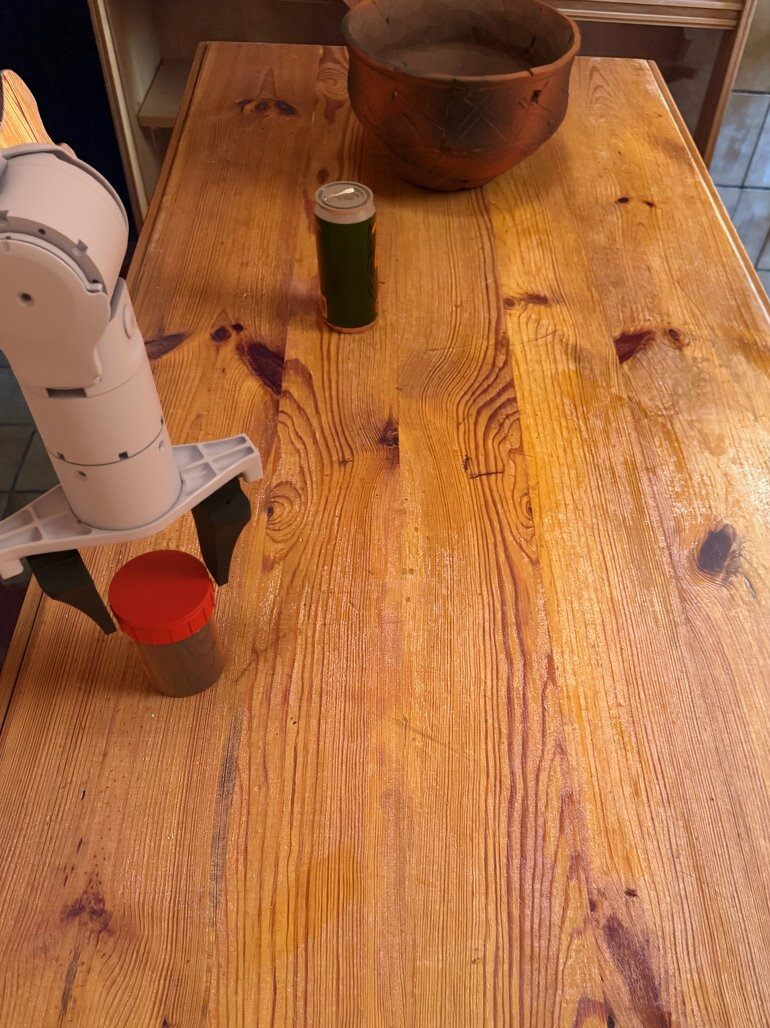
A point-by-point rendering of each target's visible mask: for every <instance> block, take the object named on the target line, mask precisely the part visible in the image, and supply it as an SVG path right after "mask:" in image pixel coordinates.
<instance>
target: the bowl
mask: <svg viewBox="0 0 770 1028" xmlns="http://www.w3.org/2000/svg"><path fill="white" fill-rule="evenodd" d="M339 27H340V34H341V36H342V38H343V40H344V42H345V43H344V44H345V46H346V50H347V54H348V69H347V80H346V84H347V88H346V90H347V94H348V99H349V102H350V106H351V109H352V111H353V113H354V115H355V117H356V118H357V120H358V122H359V123H360V125H361V127H362V128H363V130H364V131H365V133H366V134H367V135H368V137H369V138H370V139H371V141H372V142H373V143H374V145H376V147H377V148H378V149H379V150H380V152H382V153H383V155H384V156H385V157H386V158H387V159H388V160H389V161H390V163H391V164H392V166H393V168H395V170H396V171H397V173H398V174H399V176H400V177H401V178H402V179H403V180H405V181H407V182H409V183H411V184H413V185H416V186H418V187H422V188H426V189H431V190H435V191H444V192H451V191H457V190H459V189H462V188H464V189H477V188H479V187H483V186H484V185H486V184H489V183H490V182H491V181H493V180H494V179H496V178H497V177H499V176H500V175H502V174H504V173H506V172H507V171H510V170H511V169H512V168H514V167H515V166H517V165H519V164H521V162H523V161H525V160H526V159H527V158H529V157H530V156H532V155H533V154H534V153H535V152H537V151H538V150H539V148H540V147H541V146H543V145H544V144H545V143H546V142H547V141H549V140H550V139H551V138H552V137H553V135H555V133H556V132H558V131H557V130H558V129H559V127H561V126H562V124H563V122H564V121H565V118H566V115H567V112H568V107H569V98H570V93H569V88H570V79H571V72H572V68H573V65H574V61H575V58H576V56H577V54H578V53H579V52H580V50H581V45H582V34H581V31H580V28H579V26H578V24H577V23H576V22H575V21H574V20H573V19H572V18H570V17H569V16H568V15H566V14H565V13H563V12H562V11H560V10H559V9H558V8H557V7H555V6H554V5H552V4H549V3H547V2H544V1H541V0H363V1H361V2H359V3H357V4H355V5H354V6H353V7H351V8H350V9H349V10H348V11H347V12H346V13H345V15H344V16H343V18H342V19H341V22H340V25H339Z"/></svg>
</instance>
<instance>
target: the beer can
mask: <svg viewBox="0 0 770 1028" xmlns="http://www.w3.org/2000/svg"><path fill="white" fill-rule="evenodd" d="M312 211H313V212H312V213H313V226H314V235H315V237H314V238H315V248H316V260H317V261H316V262H317V272H318V285H319V286H318V287H319V297H320V308H321V314H322V317H323V319H324V321H325V322H326V324H327V325H328V327H329V328H331V329H332V330H334V331H335V332H339V333H342V334H357V333H363V332H365V331H367V330H369V329H370V328H372V327H373V326H374V324H375V322H376V321H377V319H378V317H379V313H380V312H379V311H380V306H379V305H380V303H379V302H380V301H379V263H378V262H379V260H378V259H379V258H378V221H377V204H376V203H375V200H374V193H373V191H372V190H371V189H370V188H369V187H368V186H367V185H364V184H362V183H360V182H355V181H347V180H346V181H345V180H340V181H332V182H329V183H326V184H323V185H322V186H320V187H319V188H318V189H317V190H316V191H315V193H314V203H313V208H312Z"/></svg>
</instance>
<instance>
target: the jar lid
mask: <svg viewBox="0 0 770 1028" xmlns="http://www.w3.org/2000/svg"><path fill="white" fill-rule="evenodd" d="M215 590H216V589H215V585H214V582H213V578H212V577H211V576H210V572H209V571H208V569H207V567H206V566H205V563H204V562H202V561H201V560H200V559H199V558H198V557H196V556H194V555H193V554H191V553H188V552H185V551H182V550H178V549H169V548H168V549H156V550H152V551H151V550H150V551H148V552H145V553H141V554H139V555H137V556H135V557H132V558H131V559H130V560H128V561H126V562H125V563H124V564H123V565H122V566H120V568H119V569H118V570H117V571H116V572H115V574H114V575H113V577H112V578H111V581H110V583H109V586H108V590H107V599H108V603H109V605H108V607H109V608H110V611H111V613H112V615H113V618H114V620H116V622H117V625H118V627H119V629H120V631H121V633H124V634H125V635H126V636H127V637H128V638H130V639H131V638H132V639H134V640H135V641H136V642H137V641H138V642H141V643H145V644H151V645H164V644H171V643H176V642H178V641H181V640H184V639H186V638H188V637H190V636H191V635H194V634H195V633H196V632H197V631H199V630H200V629H201V628H202V627H203V626H204V625H205V624H206V622H208V620H209V618H210V616H211V615H212V612H213V613H214V609H215V608H216V598H215V593H216V591H215ZM132 639H131V640H132Z"/></svg>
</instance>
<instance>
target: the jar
mask: <svg viewBox="0 0 770 1028" xmlns="http://www.w3.org/2000/svg"><path fill="white" fill-rule="evenodd" d="M130 640H131V641H132V645H133V647H134V649H135V652H136V654H137V656H138V659H139V661H140V663H141V666H142V668H143V671H144V673H145V675H146V677H147V679H148V682H149V684H150V685H151V687H152V688H154V689H155V691H158V693H160V694H163V695H165V696H168V697H172V698H173V697H174V698H188V697H192V696H195V695H198V694H199V695H200V694H201V693H203V692H205V691H207V690H209V689H210V688H211V687H212V686H213V685H214V684H216V682H217V681H218V680H219V679H220V677H221V676H222V674H223V673H224V670H225V666H226V654H225V651H224V646H223V643H222V639H221V636H220V633H219V628H218V625H217V622H216V618H215V614H214V611H213V612H212V615H211V616H210V618H209V620H208V622H206V624H205V625H204V626H203V627H202V628H201V629H200V630H199V631H197V632H196V633H195V634H194V635H191V636H190V637H188V638H186V639H184V640H181V641H178V642H176V643H171V644H164V645H151V644H145V643H141V642H138V641H137V642H136V641H135V640H134V639H132V638H130Z"/></svg>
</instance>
